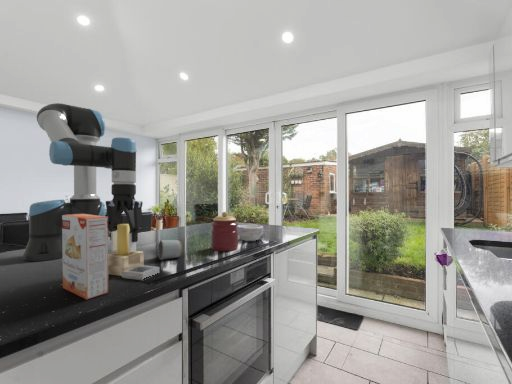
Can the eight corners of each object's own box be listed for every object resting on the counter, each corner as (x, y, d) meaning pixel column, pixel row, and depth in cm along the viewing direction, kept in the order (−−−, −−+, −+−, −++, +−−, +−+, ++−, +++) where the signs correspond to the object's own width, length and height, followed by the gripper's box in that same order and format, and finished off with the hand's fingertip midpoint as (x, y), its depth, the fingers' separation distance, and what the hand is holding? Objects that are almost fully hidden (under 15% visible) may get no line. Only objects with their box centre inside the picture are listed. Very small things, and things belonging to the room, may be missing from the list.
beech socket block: (102, 273, 89) (102, 255, 89) (123, 266, 98) (123, 249, 98) (124, 276, 87) (124, 257, 87) (143, 268, 95) (143, 251, 95)
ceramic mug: (183, 258, 109) (183, 239, 109) (162, 261, 105) (162, 241, 105) (174, 254, 118) (174, 236, 118) (155, 256, 113) (155, 238, 113)
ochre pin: (114, 272, 91) (114, 224, 91) (123, 269, 94) (123, 223, 94) (123, 273, 90) (123, 225, 90) (132, 270, 93) (132, 224, 93)
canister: (236, 251, 122) (237, 213, 122) (208, 251, 122) (208, 212, 122) (239, 245, 135) (239, 210, 135) (213, 245, 135) (213, 210, 135)
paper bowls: (268, 240, 150) (268, 226, 150) (244, 243, 142) (244, 228, 142) (254, 236, 163) (254, 223, 163) (232, 238, 155) (232, 225, 155)
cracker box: (60, 289, 75) (60, 214, 75) (84, 283, 80) (84, 213, 80) (84, 301, 67) (84, 217, 67) (109, 293, 72) (109, 215, 72)
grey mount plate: (121, 277, 85) (121, 271, 85) (139, 270, 93) (139, 264, 93) (142, 280, 83) (142, 273, 83) (159, 272, 90) (159, 266, 90)
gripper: (92, 183, 91) (92, 251, 92) (139, 183, 86) (139, 255, 86) (110, 184, 99) (110, 246, 99) (155, 183, 93) (154, 250, 93)
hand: (123, 250), depth 92 cm, fingers open, 7 cm apart
